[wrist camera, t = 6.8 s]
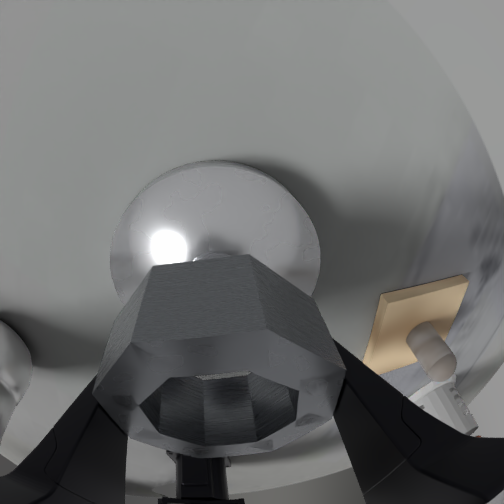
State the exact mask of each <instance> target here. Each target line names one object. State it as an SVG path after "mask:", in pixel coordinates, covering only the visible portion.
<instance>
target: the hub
mask: <svg viewBox="0 0 504 504" xmlns="http://www.w3.org/2000/svg"><path fill="white" fill-rule="evenodd" d="M245 254H250V255H252V256H253V257H254V258H256V259H257V260H259V261H260V262H261V263H263V264H264V265H266V266H267V267H269V268H270V269H271V270H273V271H274V272H276V273H277V274H279V275H280V276H281V277H283V278H284V279H286V280H287V281H289V282H290V283H291V284H293V285H294V286H296V287H297V288H299V289H300V290H301V291H303V292H304V293H306V294H307V295H309V296H310V297H311V296H312V293H313V291H314V289H315V287H316V284H317V280H318V277H319V271H320V264H321V256H320V246H319V240H318V236H317V233H316V230H315V227H314V225H313V223H312V222H311V220H310V218H309V216H308V214H307V213H306V212H305V210H304V209H303V207H302V206H301V205H300V203H299V202H298V201H297V200H296V199H295V197H294V196H293V195H292V194H291V193H290V192H289V191H288V190H287V189H286V188H285V187H284V186H283V185H282V184H281V183H279V182H278V181H277V180H275V179H274V178H273V177H271V176H269V175H268V174H266V173H264V172H262V171H260V170H258V169H255V168H253V167H250V166H247V165H244V164H240V163H235V162H230V161H217V160H215V161H200V162H195V163H190V164H186V165H183V166H180V167H177V168H175V169H172V170H170V171H168V172H166V173H164V174H163V175H161V176H159V177H158V178H156V179H155V180H154V181H152V182H151V183H149V184H148V185H147V186H146V187H145V188H144V189H143V190H142V191H141V192H140V193H139V194H138V195H137V197H136V198H135V199H134V200H133V202H132V203H131V204H130V206H129V207H128V208H127V210H126V211H125V212H124V214H123V215H122V217H121V219H120V221H119V223H118V225H117V227H116V229H115V232H114V235H113V238H112V243H111V249H110V269H111V276H112V279H113V283H114V286H115V289H116V291H117V293H118V295H119V298H120V299H121V301H122V303H123V304H124V306H125V305H126V304H127V302H128V301H129V299H130V298H131V296H132V295H133V293H134V292H135V290H136V289H137V287H138V286H139V285H140V283H141V282H142V280H143V279H144V277H145V276H146V275H147V273H148V272H149V270H150V269H151V268H152V266H154V265H163V264H171V263H179V262H187V261H195V260H204V259H212V258H220V257H228V256H236V255H245Z"/></svg>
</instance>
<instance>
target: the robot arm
mask: <svg viewBox="0 0 504 504" xmlns="http://www.w3.org/2000/svg"><path fill="white" fill-rule="evenodd" d="M332 339H333V338H332ZM333 341H334V343H335V346H336V348H337V350H338V352H339V354H340V356H341V359H342V361H343V363H344V365H345V368H346V373H345V377H344V380H343V384H342V387H341V391H340V394H339V397H338V401H337V404H336V407H335V410H334V413H333V416H334V419H335V422H336V424H337V427H338V429H339V432H340V435H341V437H342V440H343V443H344V445H345V448H346V450H347V453H348V456H349V458H350V461H351V464H352V466H353V469H354V472H355V474H356V477H357V480H358V482H359V485H360V488H361V491H362V493H363V496H364V499H365V502H366V504H504V438H483V437H472V436H469V435H466V434H463V433H461V432H459V431H458V430H456V429H454V428H452V427H451V426H449V425H447V424H446V423H444V422H442V421H440V420H439V419H437V418H435V417H434V416H432V415H431V414H429V413H427V412H426V411H424V410H423V409H421V408H420V407H419V406H417V405H416V404H415V403H413V402H412V401H411V400H409V399H408V398H407V397H406V396H403V394H402V393H400V392H399V391H398V390H397V389H395V388H394V387H393V386H391V385H390V384H389V383H388V382H386V381H385V380H384V379H383V378H381V377H380V376H379V375H378V374H376V373H375V372H374V371H373V370H371V369H370V368H369V367H368V366H366V365H365V364H364V363H363V362H361V361H360V360H359V359H358V358H356V357H355V356H354V355H353V354H351V353H350V352H349V351H348V350H347V349H345V348H344V347H343V346H342V345H340V344H339V343H338V342H337V341H335V340H334V339H333ZM96 378H97V375H96V376H95V377H94V378H93V380H92V381H91V382H90V383H89V384H88V385H87V387H86V388H85V389H84V390H83V391H82V393H81V394H80V395H79V396H78V397H77V399H76V400H75V401H74V402H73V403H72V405H71V406H70V407H69V408H68V409H67V411H66V412H65V413H64V414H63V415H62V417H61V418H60V419H59V420H58V422H57V423H56V424H55V425H54V428H52V429H51V430H50V431H49V433H48V434H47V435H46V436H45V438H44V439H43V440H42V441H41V442H40V443H39V445H38V446H37V447H36V448H35V449H34V450H33V451H32V452H31V453H30V454H29V455H28V456H27V457H26V458H25V459H24V460H23V461H22V462H21V463H20V464H19V465H18V466H17V468H15V469H14V470H13V471H12V472H11V473H9V474H7V475H5V476H1V477H0V504H125V474H126V455H127V441H128V435H127V434H126V433H125V432H124V431H123V430H122V429H121V428H120V427H119V426H118V424H117V423H116V422H115V421H114V420H113V419H112V418H111V416H110V415H109V414H108V413H107V412H106V411H105V409H104V408H103V407H102V406H101V405H100V403H99V402H98V401H97V400H96V398H95V397H94V396H93V395H92V392H93V389H94V385H95V381H96ZM166 453H167V455H168V456H169V457H170V458H171V459H172V460H173V461H174V462H175V463H176V496H177V497H176V498H168V497H162V499H158V504H245V503H244V499H235V500H229V495H228V486H227V476H226V467H231V462H230V460H229V458H228V457H215V458H196V457H191V456H187V455H183V454H179V453H176V452H172V451H168V450H166Z"/></svg>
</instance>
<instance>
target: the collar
mask: <svg viewBox="0 0 504 504" xmlns="http://www.w3.org/2000/svg"><path fill="white" fill-rule="evenodd" d="M246 370H247V371H249V372H251V373H250V374H249V375H247V376H239V377H230V378H221V379H211V380H202V379H199V378H197V377H195V376H199V375H211V374H221V373H230V372H239V371H246ZM345 373H346V368H345V365H344V363H343V361H342V359H341V356H340V354H339V352H338V350H337V348H336V346H335V343H334V341H333V339H332V337H331V335H330V333H329V330H328V328H327V326H326V324H325V322H324V320H323V318H322V316H321V313H320V311H319V309H318V307H317V305H316V303H315V301H314V299H313V298H311V297H310V296H309V295H307V294H306V293H304V292H303V291H301V290H300V289H299V288H297V287H296V286H294V285H293V284H291V283H290V282H289V281H287V280H286V279H284V278H283V277H281V276H280V275H279V274H277V273H276V272H274V271H273V270H271V269H270V268H269V267H267V266H266V265H264V264H263V263H261V262H260V261H259V260H257V259H256V258H254V257H253V256H252V255H250V254H245V255H236V256H228V257H220V258H212V259H204V260H195V261H187V262H179V263H171V264H163V265H154V266H152V268H151V269H150V270H149V272H148V273H147V275H146V276H145V277H144V279H143V280H142V282H141V283H140V285H139V286H138V287H137V289H136V290H135V292H134V293H133V295H132V296H131V298H130V299H129V301H128V302H127V304H126V305H125V306H124V308H123V309H122V311H121V312H120V314H119V316H118V317H117V319H116V320H115V322H114V324H113V327H112V330H111V333H110V336H109V339H108V342H107V345H106V348H105V351H104V355H103V358H102V361H101V364H100V368H99V371H98V374H97V378H96V381H95V385H94V389H93V392H92V395H93V396H94V397H95V398H96V400H97V401H98V402H99V403H100V405H101V406H102V407H103V408H104V409H105V411H106V412H107V413H108V414H109V415H110V416H111V418H112V419H113V420H114V421H115V422H116V423H117V424H118V426H119V427H120V428H121V429H122V430H123V431H124V432H125V433H126V434H127V435H128V436H129V437H130V438H131V439H134V440H137V441H140V442H143V443H146V444H149V445H152V446H155V447H158V448H162V449H165V450H168V451H172V452H176V453H179V454H183V455H187V456H191V457H196V458H215V457H228V456H239V455H248V454H256V453H263V452H270V451H274V450H276V449H278V448H280V447H282V446H284V445H286V444H288V443H290V442H292V441H294V440H296V439H298V438H299V437H301V436H303V435H305V434H307V433H309V432H310V431H312V430H314V429H316V428H317V427H319V426H321V425H322V424H324V423H326V422H327V421H329V420H331V419H332V416H333V413H334V410H335V407H336V404H337V401H338V397H339V394H340V391H341V387H342V384H343V380H344V377H345Z"/></svg>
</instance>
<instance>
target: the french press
mask: <svg viewBox="0 0 504 504" xmlns="http://www.w3.org/2000/svg"><path fill="white" fill-rule="evenodd" d="M456 376H457V375H455V374H454V373H453V375H452V376H451V377H450V378H449V379H447V380H446V381H443V382H435V381H431V382H430V383H428V384H427V385H425V386H424V387H422V388H421V389H419V390H418V391H417V392H415V393H414V394H413V395H412V396H411V397H409V398H408V399H409V400H411V401H412V402H413V403H415V404H416V405H417V406H419V407H420V408H421V409H423V410H424V411H426V412H427V413H429V414H431V415H432V416H434V417H435V418H437V419H439V420H440V421H442V422H444V423H446V424H447V425H449V426H451V427H452V428H454V429H456V430H458V431H459V432H461V433H463V434H466V435H469V436H470V435H471V434H472V433H474V431H475V430H476V429H477V428H478V424H477V423H476V421H475V419H474V418H473V416H472V414H470V411H469V410H468V408H467V406H466V405H465V403H464V401H463V399H462V398H461V396H460V394H459V393H458V392H457V389H456V388H455V382H456ZM458 395H459V396H460V397H459V396H458ZM463 403H464V405H463ZM458 404H459V405H458ZM462 405H463V406H462ZM467 410H468V412H469V413H468V414H467V415H465V414H466V412H467ZM476 437H481V436H476Z"/></svg>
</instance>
